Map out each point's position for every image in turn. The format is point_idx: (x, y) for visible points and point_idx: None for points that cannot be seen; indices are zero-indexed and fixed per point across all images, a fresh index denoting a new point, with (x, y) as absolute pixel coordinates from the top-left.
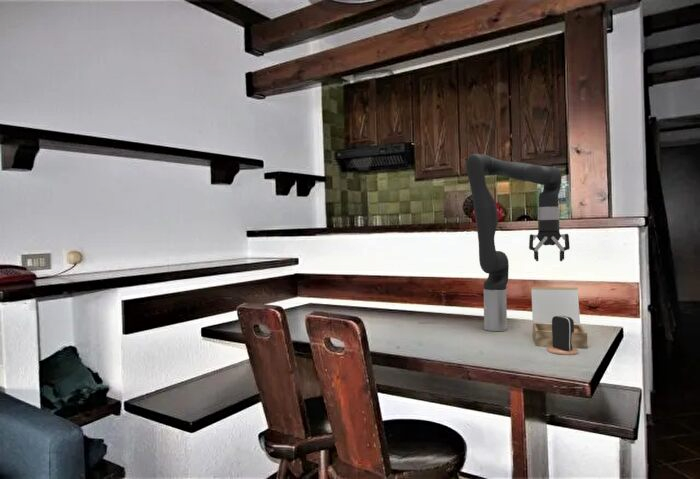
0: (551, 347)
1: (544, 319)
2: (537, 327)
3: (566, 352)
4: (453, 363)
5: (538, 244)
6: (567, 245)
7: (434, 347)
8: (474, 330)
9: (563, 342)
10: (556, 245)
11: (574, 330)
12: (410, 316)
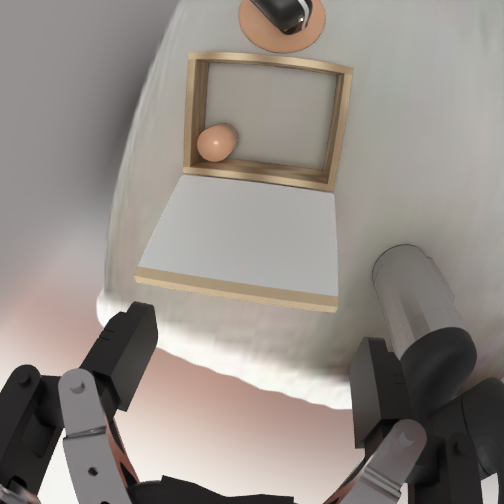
0: (310, 27)
1: (294, 194)
2: (319, 179)
3: None
4: None
5: (397, 500)
6: (12, 403)
7: None
8: (452, 258)
9: None
10: (135, 476)
11: (211, 128)
12: (497, 367)
